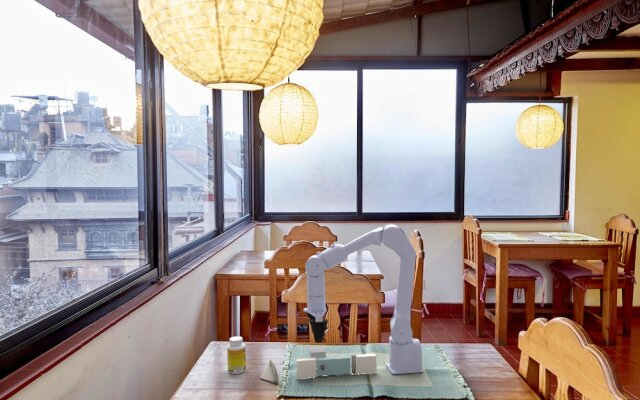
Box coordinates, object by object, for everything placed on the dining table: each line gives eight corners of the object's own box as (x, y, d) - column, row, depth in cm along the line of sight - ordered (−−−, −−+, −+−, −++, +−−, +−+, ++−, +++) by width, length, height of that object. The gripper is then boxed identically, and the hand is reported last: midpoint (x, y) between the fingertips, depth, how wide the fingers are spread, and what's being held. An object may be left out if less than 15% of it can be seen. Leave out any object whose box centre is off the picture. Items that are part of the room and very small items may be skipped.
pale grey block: (324, 363, 149) (323, 346, 149) (326, 369, 144) (325, 351, 144) (310, 364, 148) (309, 347, 148) (311, 370, 144) (311, 352, 144)
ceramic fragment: (279, 386, 134) (279, 372, 134) (261, 388, 133) (260, 375, 133) (273, 367, 148) (273, 355, 148) (257, 369, 147) (256, 357, 147)
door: (350, 372, 140) (349, 356, 140) (351, 375, 138) (351, 359, 138) (317, 375, 139) (316, 358, 139) (318, 378, 137) (317, 361, 137)
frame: (375, 371, 142) (375, 352, 141) (376, 373, 140) (376, 354, 140) (297, 377, 139) (296, 358, 139) (297, 379, 137) (296, 360, 137)
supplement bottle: (247, 373, 143) (246, 340, 142) (229, 376, 141) (228, 342, 140) (244, 366, 148) (243, 334, 147) (226, 369, 146) (225, 336, 146)
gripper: (301, 289, 152) (302, 330, 153) (305, 301, 137) (306, 347, 138) (323, 288, 153) (324, 329, 153) (329, 300, 138) (330, 345, 139)
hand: (317, 337), depth 146 cm, fingers open, 7 cm apart
